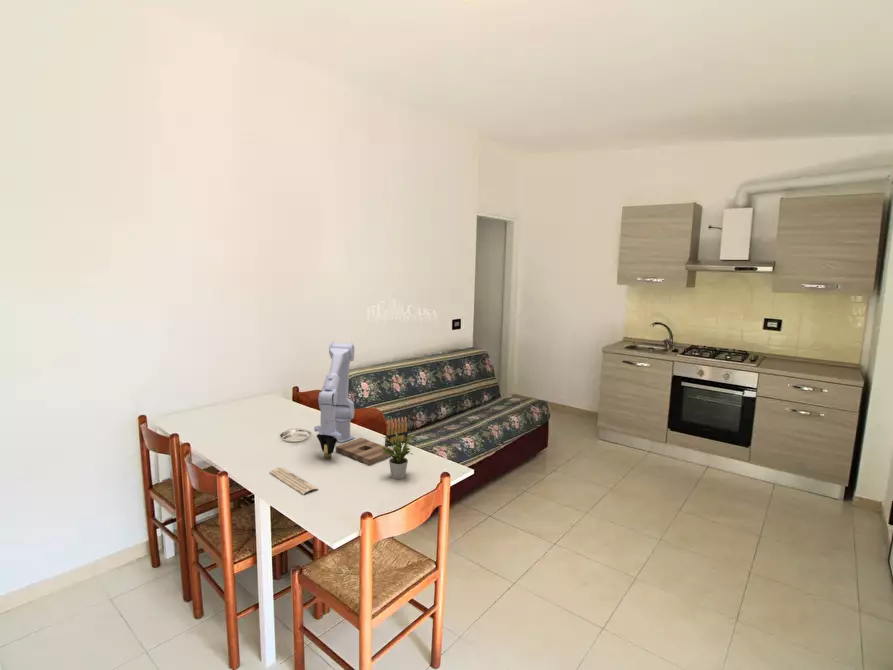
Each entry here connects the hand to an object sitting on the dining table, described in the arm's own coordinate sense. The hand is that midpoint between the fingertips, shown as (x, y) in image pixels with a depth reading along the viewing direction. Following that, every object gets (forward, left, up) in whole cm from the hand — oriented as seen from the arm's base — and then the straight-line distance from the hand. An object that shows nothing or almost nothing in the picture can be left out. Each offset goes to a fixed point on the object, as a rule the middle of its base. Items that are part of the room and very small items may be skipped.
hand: (327, 452), depth 198 cm
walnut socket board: (+8, +13, -2) cm, 15 cm away
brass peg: (0, 0, -2) cm, 2 cm away
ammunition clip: (+10, +30, -3) cm, 32 cm away
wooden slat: (+8, -21, -3) cm, 23 cm away
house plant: (+32, +8, -3) cm, 33 cm away
